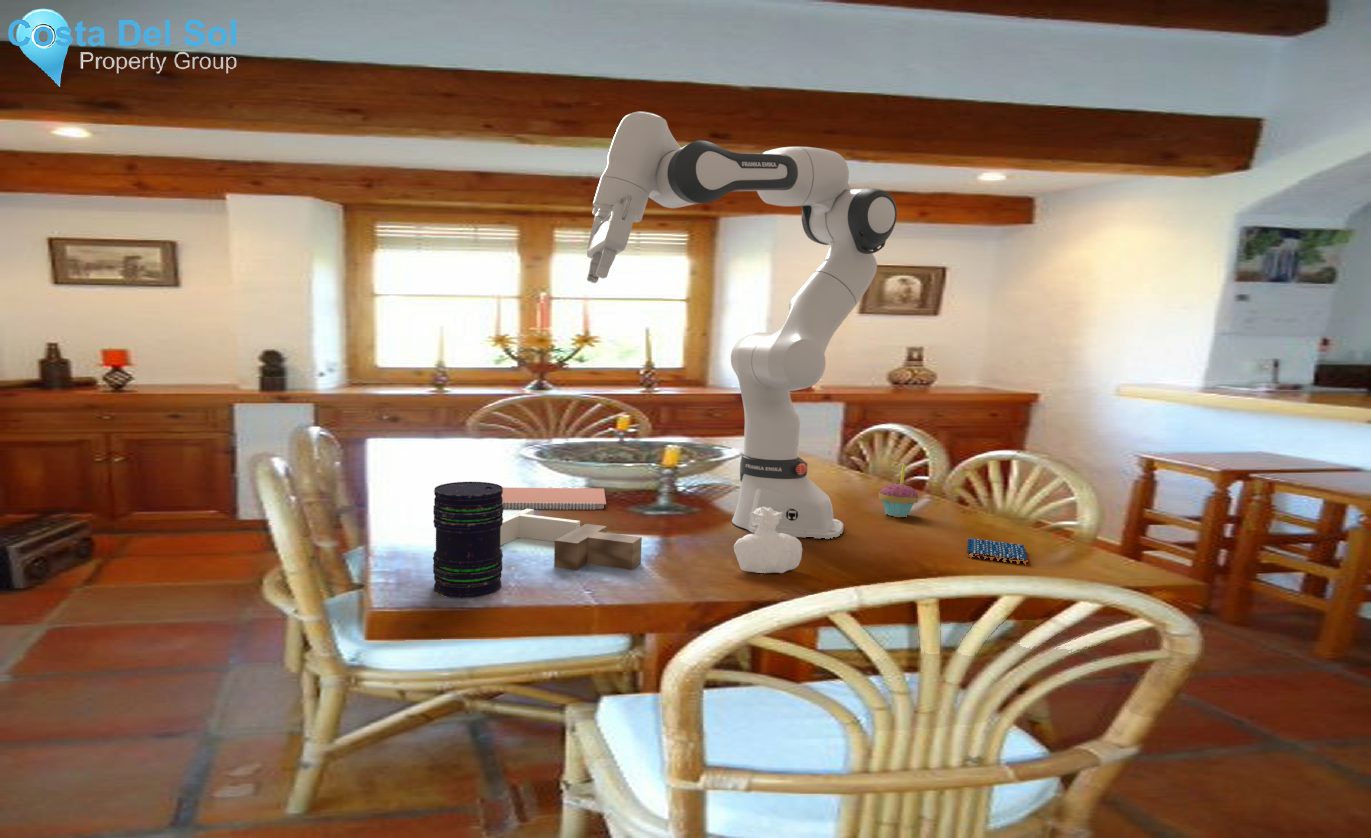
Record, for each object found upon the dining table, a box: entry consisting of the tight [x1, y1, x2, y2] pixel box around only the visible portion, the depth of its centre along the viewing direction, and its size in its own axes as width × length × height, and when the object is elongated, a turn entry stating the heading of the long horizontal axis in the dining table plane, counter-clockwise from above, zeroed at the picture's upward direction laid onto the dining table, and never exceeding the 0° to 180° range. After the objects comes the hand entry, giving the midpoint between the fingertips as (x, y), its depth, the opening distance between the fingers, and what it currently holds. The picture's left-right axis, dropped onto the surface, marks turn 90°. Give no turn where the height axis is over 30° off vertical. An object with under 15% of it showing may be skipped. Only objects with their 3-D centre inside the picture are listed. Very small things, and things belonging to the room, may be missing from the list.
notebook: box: [502, 486, 607, 511], centre depth 175 cm, size 27×17×2 cm, turn 98°
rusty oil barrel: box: [432, 481, 504, 599], centre depth 116 cm, size 10×10×15 cm
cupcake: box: [878, 460, 919, 516], centre depth 174 cm, size 9×8×12 cm
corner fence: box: [500, 508, 581, 547], centre depth 136 cm, size 13×26×4 cm, turn 162°
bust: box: [733, 507, 803, 574], centre depth 132 cm, size 12×8×11 cm
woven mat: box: [966, 538, 1030, 562], centre depth 146 cm, size 10×11×2 cm
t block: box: [553, 523, 643, 572], centre depth 132 cm, size 12×12×4 cm
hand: (596, 279), depth 137 cm, fingers open, 8 cm apart
